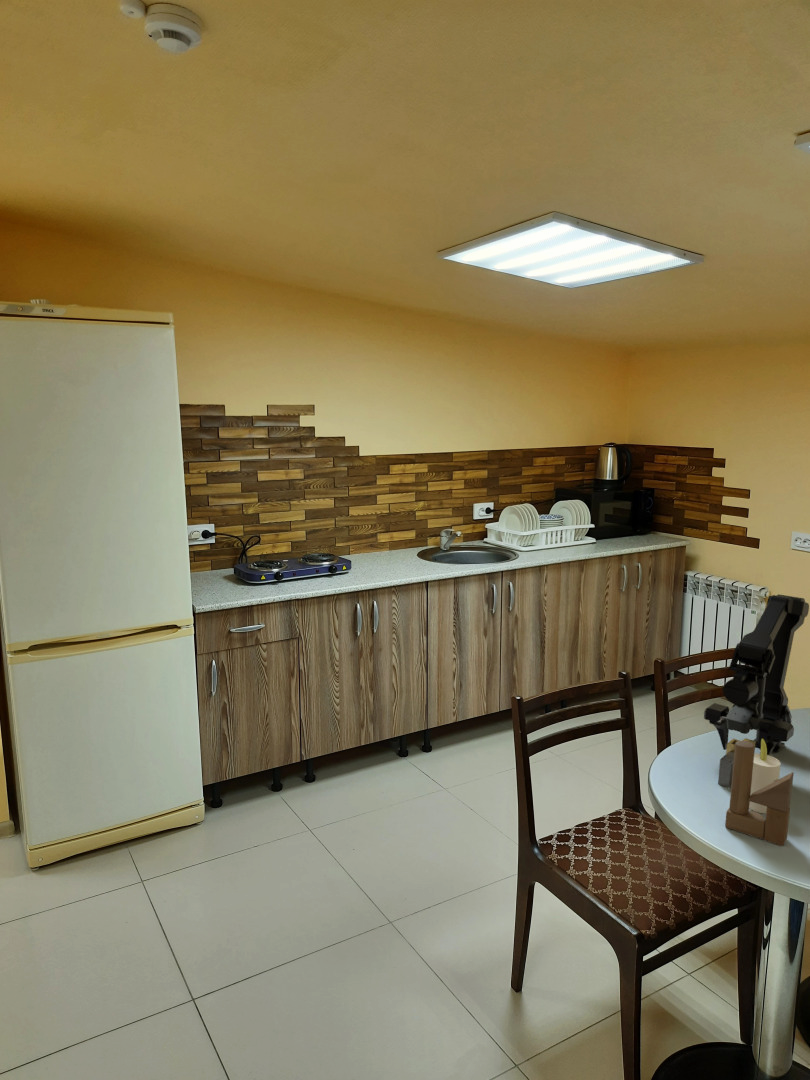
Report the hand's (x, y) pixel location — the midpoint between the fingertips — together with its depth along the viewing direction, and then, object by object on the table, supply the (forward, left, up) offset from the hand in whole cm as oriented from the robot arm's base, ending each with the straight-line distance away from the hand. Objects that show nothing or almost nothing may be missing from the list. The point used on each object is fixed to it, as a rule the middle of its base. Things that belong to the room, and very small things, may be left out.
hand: (744, 755), depth 172 cm
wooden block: (+29, +12, -3) cm, 31 cm away
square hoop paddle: (+2, 0, -3) cm, 3 cm away
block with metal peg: (+8, 0, -3) cm, 8 cm away
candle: (+17, +9, -3) cm, 19 cm away
